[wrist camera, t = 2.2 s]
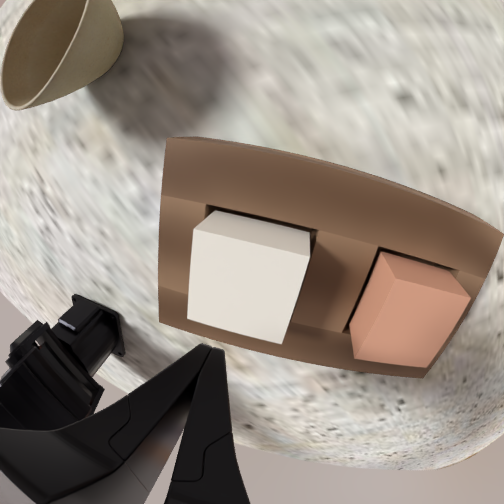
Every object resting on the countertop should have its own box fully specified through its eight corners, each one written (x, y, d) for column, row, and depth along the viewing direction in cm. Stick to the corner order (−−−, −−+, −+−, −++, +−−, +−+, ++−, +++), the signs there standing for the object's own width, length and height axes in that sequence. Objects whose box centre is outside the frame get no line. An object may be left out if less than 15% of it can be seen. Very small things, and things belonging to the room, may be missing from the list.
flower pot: (168, 58, 14) (101, 31, 8) (75, 129, 17) (8, 140, 11) (135, -19, 11) (81, -49, 4) (55, 50, 14) (-2, 45, 8)
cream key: (286, 310, 16) (281, 344, 13) (205, 289, 16) (187, 318, 14) (309, 232, 14) (310, 256, 11) (215, 210, 14) (193, 228, 11)
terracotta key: (414, 335, 15) (426, 367, 12) (349, 324, 15) (354, 358, 13) (449, 271, 13) (470, 298, 10) (380, 250, 13) (395, 278, 11)
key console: (411, 344, 19) (422, 378, 16) (181, 292, 21) (159, 322, 18) (473, 214, 14) (504, 234, 10) (196, 136, 16) (166, 137, 12)
